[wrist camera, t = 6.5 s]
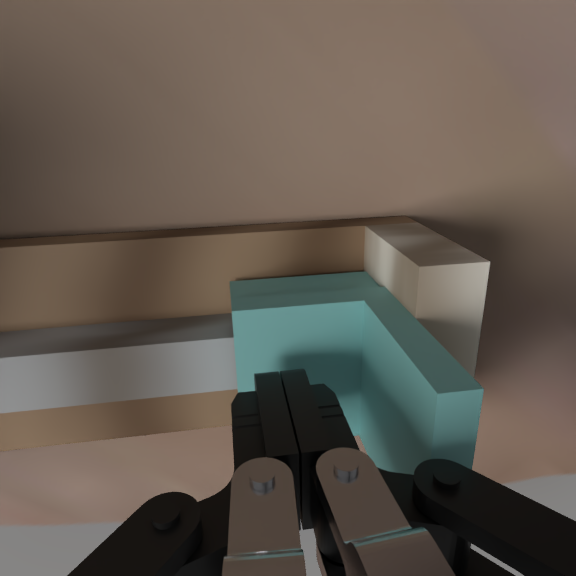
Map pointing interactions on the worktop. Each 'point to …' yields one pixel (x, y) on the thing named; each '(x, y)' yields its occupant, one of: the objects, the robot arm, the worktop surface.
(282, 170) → the worktop surface
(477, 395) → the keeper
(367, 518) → the robot arm
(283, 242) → the track
